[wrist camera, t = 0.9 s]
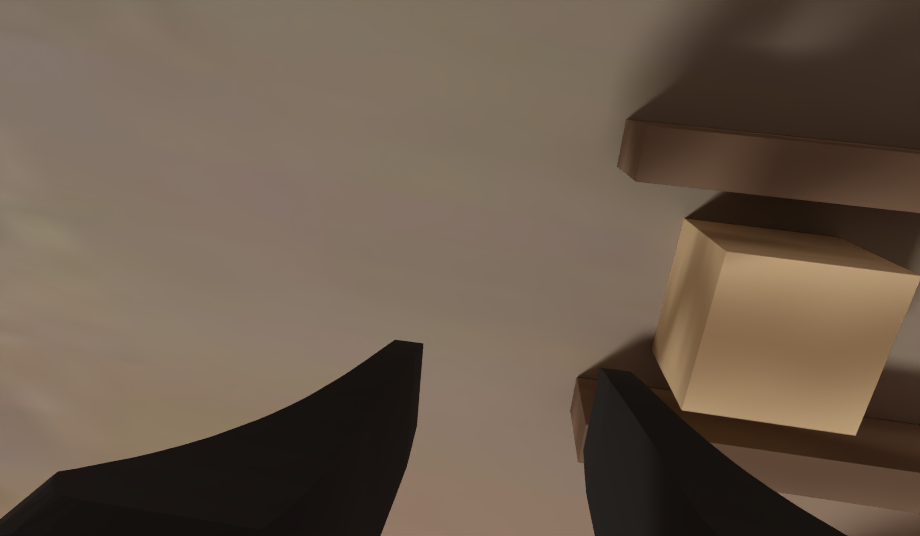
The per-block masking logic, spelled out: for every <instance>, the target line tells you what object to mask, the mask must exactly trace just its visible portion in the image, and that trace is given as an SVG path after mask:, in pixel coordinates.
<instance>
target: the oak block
mask: <svg viewBox="0 0 920 536" xmlns="http://www.w3.org/2000/svg"><path fill="white" fill-rule="evenodd" d="M919 281H920V275H918V274H916V273H914V272H912V271H910V270H907V269H905V268H903V267H901V266H899V265H897V264H895V263H892V262H890V261H888V260H886V259H884V258H882V257H880V256H877V255H875V254H873V253H871V252H869V251H867V250H865V249H862V248H860V247H858V246H856V245H854V244H852V243H849V242H847V241H845V240H843V239H841V238H839V237H832V236H824V235H815V234H807V233H799V232H791V231H783V230H775V229H766V228H758V227H750V226H742V225H734V224H726V223H717V222H709V221H701V220H693V219H685V218H684V221H683V225H682V229H681V233H680V237H679V241H678V245H677V249H676V253H675V257H674V261H673V265H672V269H671V273H670V277H669V281H668V285H667V289H666V293H665V297H664V301H663V306H662V310H661V314H660V318H659V322H658V326H657V330H656V334H655V338H654V342H653V346H652V352H653V354H654V356H655V358H656V360H657V362H658V364H659V366H660V368H661V370H662V372H663V374H664V376H665V378H666V380H667V382H668V384H669V386H670V388H671V390H672V392H673V394H674V396H675V398H676V400H677V402H678V404H679V406H680V408H681V410H683V411H690V412H697V413H704V414H711V415H718V416H724V417H731V418H738V419H745V420H752V421H759V422H765V423H772V424H779V425H786V426H793V427H800V428H806V429H813V430H820V431H827V432H834V433H841V434H848V435H854V436H856V433H857V431H858V428H859V426H860V424H861V421H862V419H863V416H864V414H865V412H866V409H867V407H868V404H869V402H870V400H871V397H872V395H873V392H874V390H875V387H876V385H877V383H878V380H879V378H880V375H881V373H882V371H883V368H884V366H885V363H886V361H887V359H888V356H889V354H890V351H891V349H892V346H893V344H894V342H895V339H896V337H897V334H898V332H899V330H900V327H901V325H902V322H903V320H904V318H905V315H906V313H907V310H908V308H909V305H910V303H911V301H912V298H913V296H914V293H915V291H916V289H917V286H918V284H919Z"/></svg>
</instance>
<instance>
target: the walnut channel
mask: <svg viewBox="0 0 920 536" xmlns="http://www.w3.org/2000/svg"><path fill="white" fill-rule="evenodd" d="M617 167H619V168H620V169H621V170H622V171H624V172H625V173H626V174H627V175H628V176H630V177H631V178H632V179H633V180H635V181H636V182H645V183H654V184H663V185H672V186H681V187H690V188H699V189H708V190H717V191H726V192H735V193H744V194H753V195H762V196H771V197H780V198H789V199H798V200H807V201H816V202H825V203H834V204H843V205H852V206H861V207H870V208H879V209H888V210H897V211H906V212H915V213H920V150H918V149H908V148H899V147H889V146H879V145H870V144H860V143H850V142H841V141H831V140H821V139H811V138H802V137H792V136H782V135H773V134H763V133H753V132H743V131H734V130H724V129H714V128H705V127H695V126H685V125H676V124H666V123H656V122H646V121H637V120H627V119H626V123H625V129H624V134H623V139H622V144H621V149H620V155H619V160H618V165H617ZM597 381H598V380H592V379H585V378H578V377H577V379H576V384H575V389H574V395H573V400H572V405H571V410H570V412H571V418H572V425H573V431H574V438H575V445H576V451H577V458H578V462H580V463H584V454H583V449H584V444H585V439H586V434H587V429H588V425H589V420H590V415H591V410H592V405H593V400H594V396H595V391H596V386H597ZM648 388H649V389H651V390H652V391H653V392H654V393H655V394H656V395H657V396H658V397H659V398H660V399H661V400H662V401H663V402H664V403H665V404H667V405H668V406H669V407H670V408H671V409H672V410H673V411H674V412H675V413H676V414H677V415H678V416H680V417H681V418H682V419H683V420H684V421H685V422H686V423H687V424H688V425H690V426H691V427H692V428H693V429H694V430H695V431H696V432H698V433H699V434H700V435H701V436H702V437H704V438H705V439H706V440H707V441H708V442H709V443H711V444H712V445H713V446H714V447H716V448H717V449H718V450H719V451H721V452H722V453H723V454H724V455H726V456H727V457H728V458H729V459H731V460H732V461H733V462H734V463H736V464H737V465H738V466H740V467H741V468H742V469H744V470H745V471H747V472H748V473H749V474H751V475H752V476H754V477H755V478H756V479H758V480H759V481H761V482H762V483H764V484H765V485H767V486H768V487H769V488H771V489H772V490H774V491H775V492H781V493H787V494H794V495H801V496H807V497H814V498H821V499H827V500H834V501H841V502H847V503H854V504H861V505H867V506H874V507H881V508H887V509H894V510H901V511H908V512H914V513H920V425H917V424H910V423H903V422H896V421H888V420H881V419H874V418H867V417H863V419H862V421H861V424H860V426H859V428H858V431H857V433H856V436H854V435H848V434H841V433H834V432H827V431H820V430H813V429H806V428H800V427H793V426H786V425H779V424H772V423H765V422H759V421H752V420H745V419H738V418H731V417H724V416H718V415H711V414H704V413H697V412H690V411H683V410H681V408H680V406H679V404H678V402H677V400H676V398H675V396H674V394H673V392H672V390H664V389H657V388H650V387H648Z"/></svg>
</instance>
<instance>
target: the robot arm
mask: <svg viewBox="0 0 920 536" xmlns="http://www.w3.org/2000/svg"><path fill="white" fill-rule="evenodd" d="M422 354H423V344H422V343H415V342H408V341H400V340H394V341H393V342H391V343H390V344H388V345H387V346H385V347H384V348H383V349H381V350H380V351H378V352H377V353H376V354H374V355H373V356H371V357H370V358H368V359H367V360H366V361H364V362H363V363H361V364H360V365H358V366H357V367H355V368H354V369H352V370H351V371H350V372H348V373H347V374H345V375H343V376H342V377H340V378H338V379H337V380H335V381H333V382H332V383H330V384H328V385H327V386H325V387H323V388H322V389H320V390H318V391H316V392H315V393H313V394H311V395H310V396H308V397H306V398H304V399H302V400H300V401H298V402H296V403H294V404H292V405H290V406H288V407H286V408H284V409H281V410H279V411H277V412H275V413H273V414H270V415H268V416H266V417H263V418H261V419H259V420H256V421H253V422H250V423H248V424H245V425H242V426H240V427H237V428H234V429H231V430H229V431H226V432H223V433H220V434H218V435H215V436H212V437H209V438H206V439H202V440H199V441H195V442H192V443H189V444H185V445H182V446H178V447H174V448H170V449H166V450H163V451H159V452H155V453H151V454H147V455H142V456H138V457H134V458H129V459H123V460H118V461H113V462H108V463H103V464H98V465H93V466H87V467H82V468H77V469H71V470H65V471H59V472H57V473H56V474H54V475H53V476H52V477H51V478H49V479H48V480H47V481H46V482H45V483H43V484H42V485H41V486H40V487H39V488H37V489H36V490H35V491H34V492H32V493H31V494H30V495H29V496H28V497H26V498H25V499H24V500H23V501H22V502H20V503H19V504H18V505H17V506H16V507H14V508H13V509H12V510H11V511H10V512H8V513H7V514H6V515H5V516H4V517H2V518H1V519H0V536H380V535H381V533H382V530H383V528H384V525H385V522H386V520H387V517H388V515H389V512H390V509H391V507H392V504H393V502H394V499H395V496H396V494H397V491H398V488H399V486H400V483H401V480H402V478H403V475H404V472H405V470H406V467H407V463H408V460H409V456H410V452H411V448H412V443H413V439H414V435H415V431H416V427H417V417H418V405H419V392H420V380H421V367H422ZM583 454H584V470H585V482H586V494H587V499H588V504H589V509H590V514H591V519H592V524H593V529H594V534H595V536H847V535H845V534H843V533H842V532H840V531H838V530H837V529H835V528H833V527H831V526H830V525H828V524H826V523H825V522H823V521H821V520H820V519H818V518H816V517H815V516H813V515H811V514H809V513H808V512H806V511H804V510H803V509H801V508H800V507H798V506H797V505H795V504H793V503H792V502H790V501H789V500H787V499H786V498H784V497H783V496H781V495H780V494H778V493H777V492H775V491H774V490H772V489H771V488H769V487H768V486H767V485H765V484H764V483H762V482H761V481H759V480H758V479H756V478H755V477H754V476H752V475H751V474H749V473H748V472H747V471H745V470H744V469H742V468H741V467H740V466H738V465H737V464H736V463H734V462H733V461H732V460H731V459H729V458H728V457H727V456H726V455H724V454H723V453H722V452H721V451H719V450H718V449H717V448H716V447H714V446H713V445H712V444H711V443H709V442H708V441H707V440H706V439H705V438H704V437H702V436H701V435H700V434H699V433H698V432H696V431H695V430H694V429H693V428H692V427H691V426H690V425H688V424H687V423H686V422H685V421H684V420H683V419H682V418H681V417H680V416H678V415H677V414H676V413H675V412H674V411H673V410H672V409H671V408H670V407H669V406H668V405H667V404H665V403H664V402H663V401H662V400H661V399H660V398H659V397H658V396H657V395H656V394H655V393H654V392H653V391H652V390H651V389H649V388H648V387H647V386H646V385H645V384H644V383H643V382H642V381H641V380H640V379H638V378H637V377H636V376H635V375H634V374H632V373H631V372H627V371H620V370H613V369H605V368H600V371H599V376H598V381H597V386H596V391H595V396H594V400H593V405H592V410H591V415H590V420H589V425H588V429H587V434H586V439H585V444H584V449H583Z"/></svg>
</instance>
